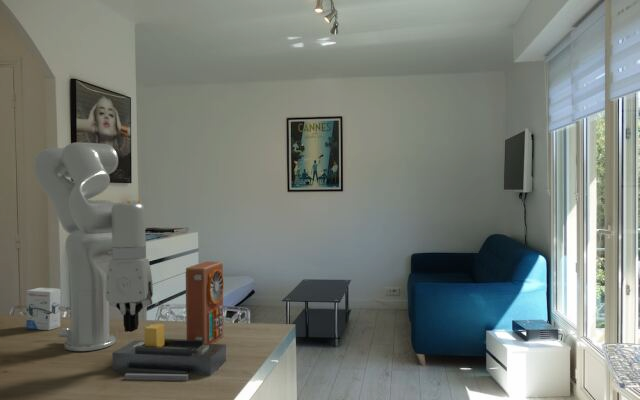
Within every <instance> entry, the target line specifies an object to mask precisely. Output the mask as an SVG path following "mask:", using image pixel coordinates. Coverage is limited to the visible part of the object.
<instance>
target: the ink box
mask: <svg viewBox="0 0 640 400" xmlns="http://www.w3.org/2000/svg"><path fill="white" fill-rule="evenodd" d="M61 293H62V292H61V289H60V288H55V287H53V288H52V287H37V288H32V289H28V290H26V316H25V317H26V319H25V320H26V324H25V325H26V326H25V327H26V328H25V329H30V330H41V331H42V330H43V331H51V330H53V329H56V328H60V327H61V300H62V299H61V297H62V296H61Z"/></svg>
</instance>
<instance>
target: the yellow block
mask: <svg viewBox="0 0 640 400" xmlns="http://www.w3.org/2000/svg"><path fill="white" fill-rule="evenodd" d="M164 338H165V324H164V323H151V324H149V325H148V326H145V328H144V341H145V346H159V347H162V346H163V345H165V340H164Z"/></svg>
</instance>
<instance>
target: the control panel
mask: <svg viewBox="0 0 640 400" xmlns="http://www.w3.org/2000/svg"><path fill="white" fill-rule="evenodd" d="M223 264H224V263H223V261H210V260H209V261H203V262H200V263H196V264H193V265H190V266H188V267H186V268H185V274H184V275H185V307H186V310H185V313H186V314H185V315H186V316H185V317H186V320H185V321H186V339H190V340H205V344H215V343H216V342H217V341H219V340H220V339H222V337H224V276H223V275H224V272H223V270H224V268H223V267H224V265H223Z"/></svg>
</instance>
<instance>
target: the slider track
mask: <svg viewBox="0 0 640 400" xmlns="http://www.w3.org/2000/svg"><path fill="white" fill-rule="evenodd" d="M164 340H165V345H163V346H162V347H159V346H145V340H137V339H136V340H133V341H131V342H129V343H127V344H126V345H124V346H122V347H120V348H119V349H116V350H114V351H113V352H112V370H114V371H118V369H120V368H121V367H122V368H140V369H158V370H176V371H187V374H188V375H200V376H212V375H213V374H214V373H215V372H216V371H217V370H218V369H219V368H220V367H222V365H223V364H225V362H227V344H225V343H213V344H205V340H190V339H187V338H185V339H184V338H169V337H168V338H165V337H164Z"/></svg>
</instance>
